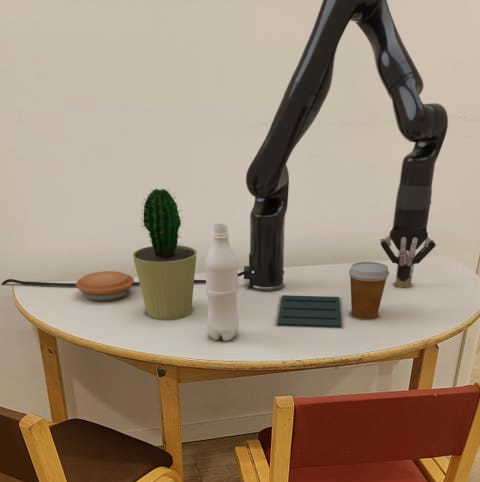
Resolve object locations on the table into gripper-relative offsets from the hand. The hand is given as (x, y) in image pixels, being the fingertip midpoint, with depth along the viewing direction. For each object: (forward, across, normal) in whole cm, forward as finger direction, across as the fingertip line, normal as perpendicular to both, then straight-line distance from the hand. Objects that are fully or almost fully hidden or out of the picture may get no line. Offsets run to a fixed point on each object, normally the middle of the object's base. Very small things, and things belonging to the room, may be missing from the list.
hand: (402, 280), depth 143 cm
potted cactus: (+9, +57, +2) cm, 58 cm away
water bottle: (+9, +41, +17) cm, 45 cm away
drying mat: (+9, +22, -1) cm, 23 cm away
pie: (+9, +77, -9) cm, 78 cm away
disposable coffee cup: (+9, +8, 0) cm, 12 cm away
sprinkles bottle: (+9, -4, -24) cm, 26 cm away
